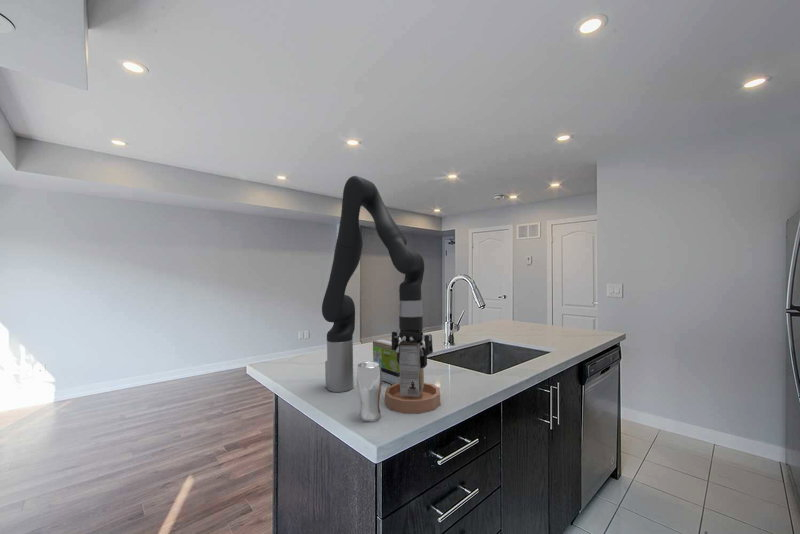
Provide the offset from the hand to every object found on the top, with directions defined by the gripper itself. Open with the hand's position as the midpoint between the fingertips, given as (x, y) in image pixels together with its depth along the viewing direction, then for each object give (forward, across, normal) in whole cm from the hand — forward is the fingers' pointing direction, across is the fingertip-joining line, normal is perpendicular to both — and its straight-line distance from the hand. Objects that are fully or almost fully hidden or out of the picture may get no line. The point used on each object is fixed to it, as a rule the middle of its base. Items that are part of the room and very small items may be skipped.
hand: (411, 365), depth 106 cm
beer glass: (+12, -4, -16) cm, 20 cm away
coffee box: (+8, 0, 0) cm, 8 cm away
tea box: (+12, -18, +15) cm, 26 cm away
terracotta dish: (+11, 0, 0) cm, 11 cm away
